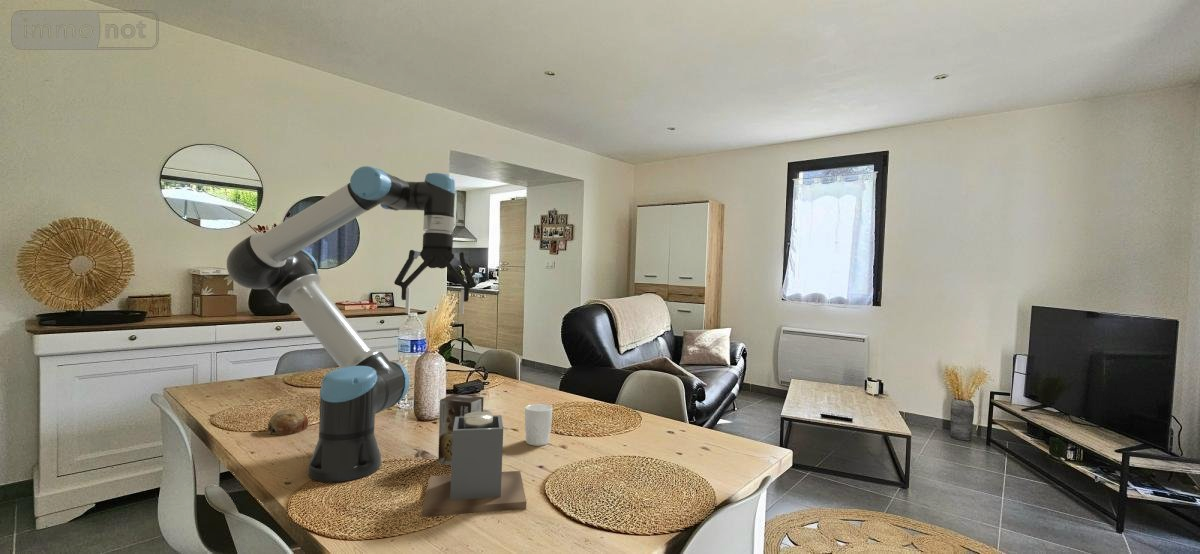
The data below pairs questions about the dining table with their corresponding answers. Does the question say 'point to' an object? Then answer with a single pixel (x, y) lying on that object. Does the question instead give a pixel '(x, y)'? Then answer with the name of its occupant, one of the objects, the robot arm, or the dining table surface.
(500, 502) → the base
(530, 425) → the white cup
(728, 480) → the dining table surface
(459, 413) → the coffee box
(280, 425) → the brown rounded lump
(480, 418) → the plunger
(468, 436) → the box
